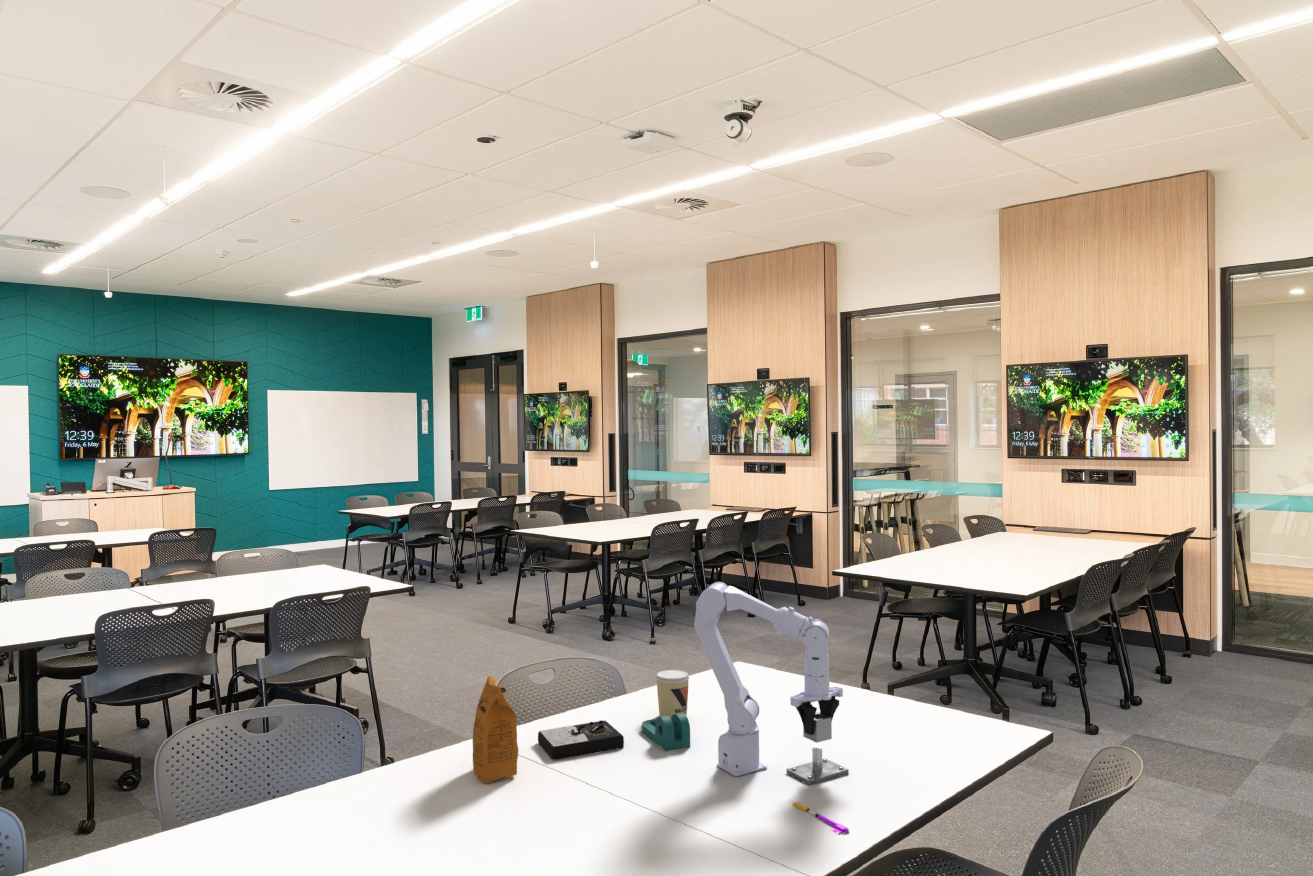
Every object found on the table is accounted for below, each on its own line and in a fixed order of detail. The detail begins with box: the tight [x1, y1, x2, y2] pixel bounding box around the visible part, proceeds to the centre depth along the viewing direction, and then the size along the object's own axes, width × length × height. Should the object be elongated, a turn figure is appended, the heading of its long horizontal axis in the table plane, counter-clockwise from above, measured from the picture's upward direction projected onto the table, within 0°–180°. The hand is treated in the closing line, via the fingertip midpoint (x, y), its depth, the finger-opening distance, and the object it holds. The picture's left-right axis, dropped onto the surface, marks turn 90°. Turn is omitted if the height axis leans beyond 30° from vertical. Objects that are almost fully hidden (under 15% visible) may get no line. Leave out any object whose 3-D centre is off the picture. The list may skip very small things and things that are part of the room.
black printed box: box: [537, 719, 625, 761], centre depth 217 cm, size 13×19×5 cm
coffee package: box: [472, 675, 519, 784], centre depth 199 cm, size 10×12×22 cm
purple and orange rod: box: [792, 801, 850, 834], centre depth 174 cm, size 3×1×16 cm
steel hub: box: [802, 711, 833, 744], centre depth 197 cm, size 5×5×5 cm
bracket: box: [641, 713, 691, 752], centre depth 221 cm, size 18×7×8 cm, turn 25°
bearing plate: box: [786, 745, 850, 786], centre depth 197 cm, size 12×8×6 cm, turn 121°
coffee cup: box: [655, 669, 690, 718], centre depth 238 cm, size 9×9×12 cm
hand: (817, 731), depth 197 cm, fingers closed on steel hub, 5 cm apart
